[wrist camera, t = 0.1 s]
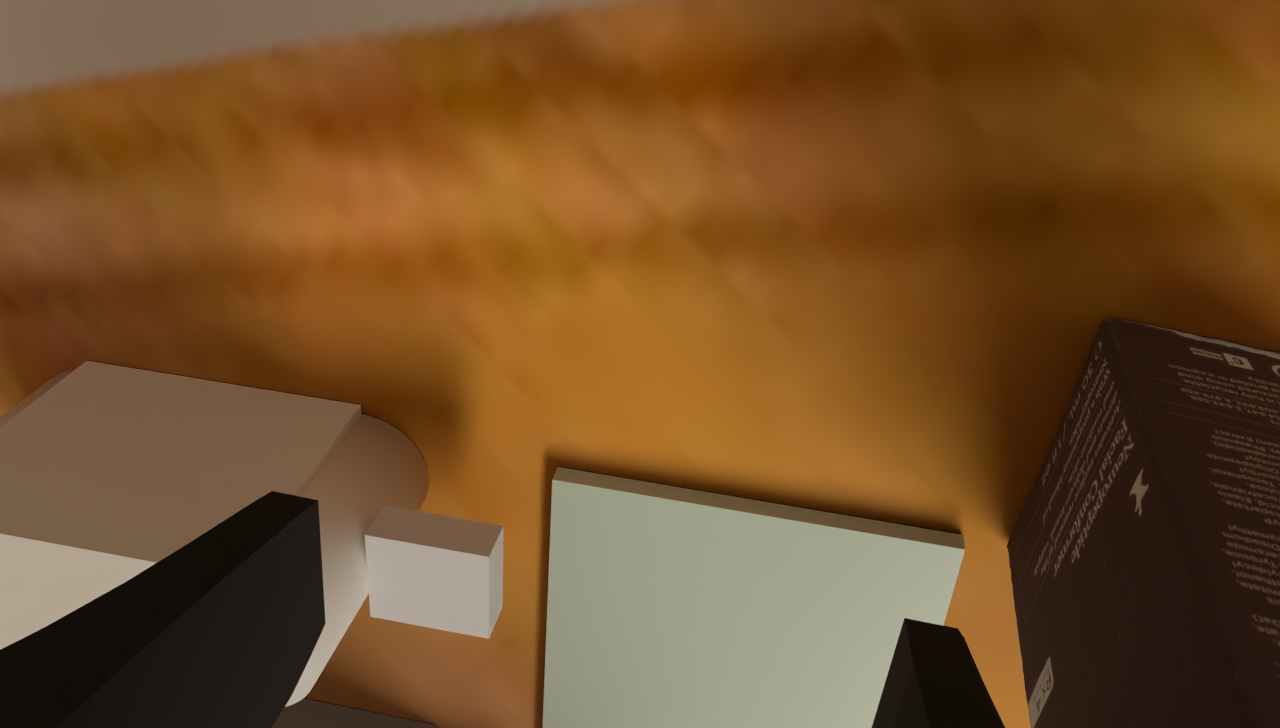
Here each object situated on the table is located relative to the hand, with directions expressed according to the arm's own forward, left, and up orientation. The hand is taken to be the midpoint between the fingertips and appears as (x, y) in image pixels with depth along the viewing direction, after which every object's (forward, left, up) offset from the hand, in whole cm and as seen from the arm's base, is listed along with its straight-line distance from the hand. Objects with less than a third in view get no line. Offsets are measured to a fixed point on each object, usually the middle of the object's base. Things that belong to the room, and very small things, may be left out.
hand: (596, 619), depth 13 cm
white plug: (-6, +11, -10) cm, 16 cm away
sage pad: (-10, -2, -10) cm, 14 cm away
